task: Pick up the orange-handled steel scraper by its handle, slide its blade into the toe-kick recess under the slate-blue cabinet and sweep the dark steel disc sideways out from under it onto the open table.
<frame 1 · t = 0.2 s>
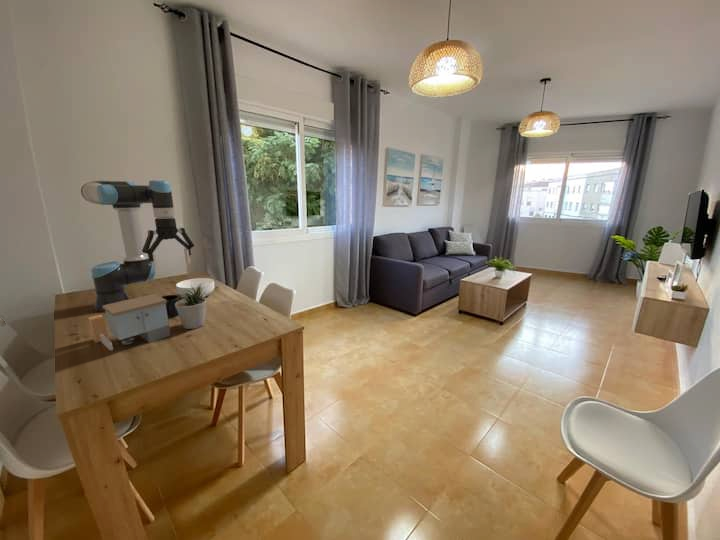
hand: (172, 265, 133), 28 cm above the table, fingers open, 13 cm apart
token: (128, 343, 121), on the table
potted plant: (194, 326, 136), on the table
mug: (170, 316, 147), on the table
cabinet: (142, 339, 124), on the table
bowl: (197, 296, 175), on the table
scraper: (100, 339, 123), on the table
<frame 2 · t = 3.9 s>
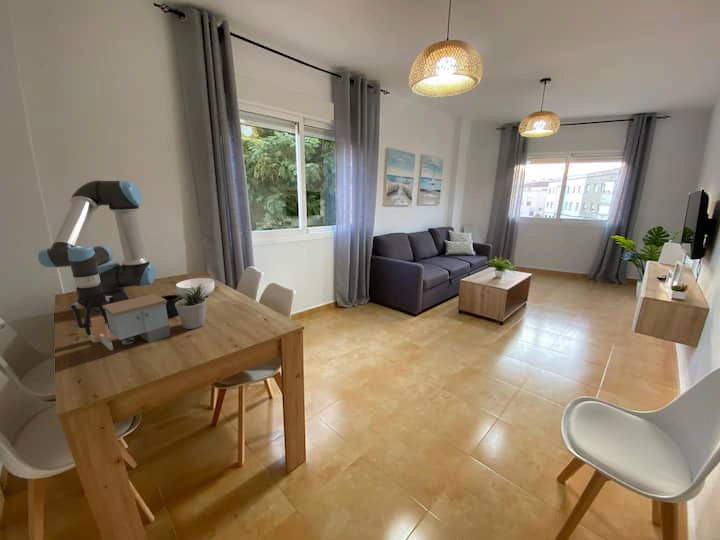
hand: (100, 338, 123), 0 cm above the table, fingers closed on scraper, 4 cm apart
scraper: (101, 339, 123), on the table, touching gripper
everything else where it was.
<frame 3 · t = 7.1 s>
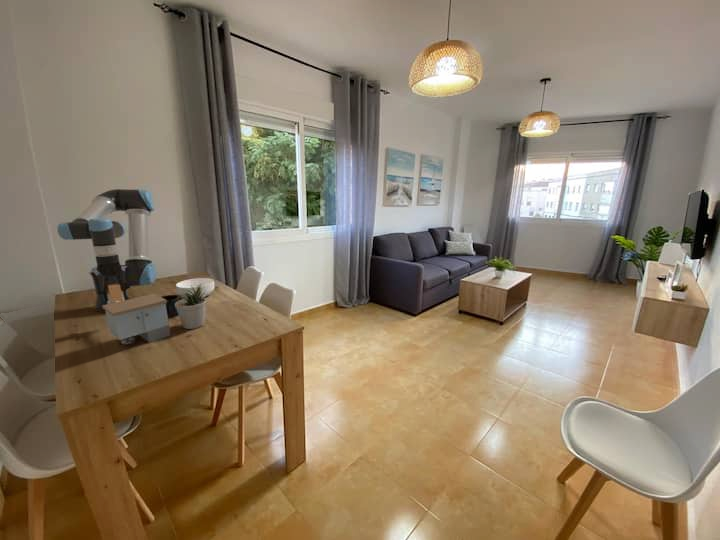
hand: (117, 305, 133), 10 cm above the table, fingers closed on scraper, 4 cm apart
scraper: (117, 306, 133), point 10 cm above the table, touching gripper
everything else where it was.
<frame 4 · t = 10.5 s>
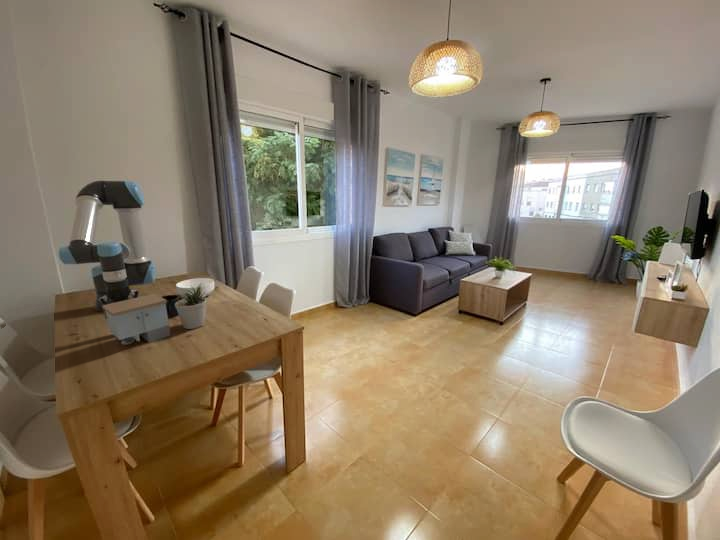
hand: (126, 330, 129), 1 cm above the table, fingers closed on scraper, 4 cm apart
scraper: (126, 331, 129), point 1 cm above the table, touching gripper
everything else where it was.
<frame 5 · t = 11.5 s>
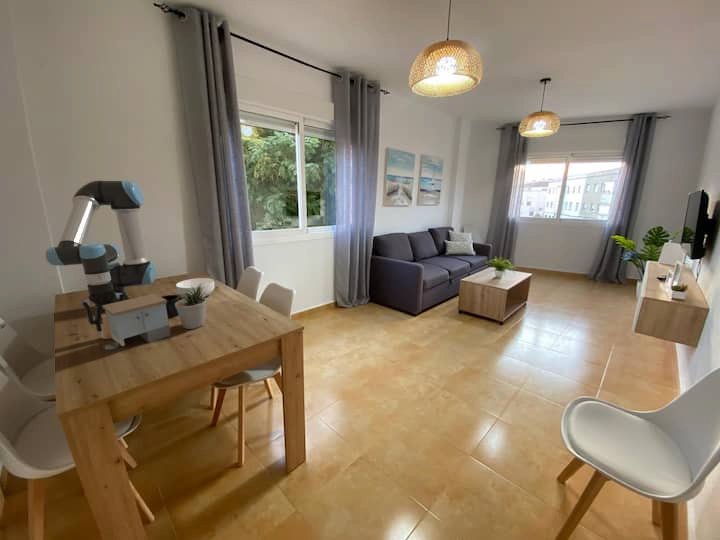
hand: (111, 335, 125), 1 cm above the table, fingers closed on scraper, 4 cm apart
token: (112, 347, 116), on the table, touching scraper
scraper: (111, 336, 125), point 1 cm above the table, touching gripper, token
everything else where it was.
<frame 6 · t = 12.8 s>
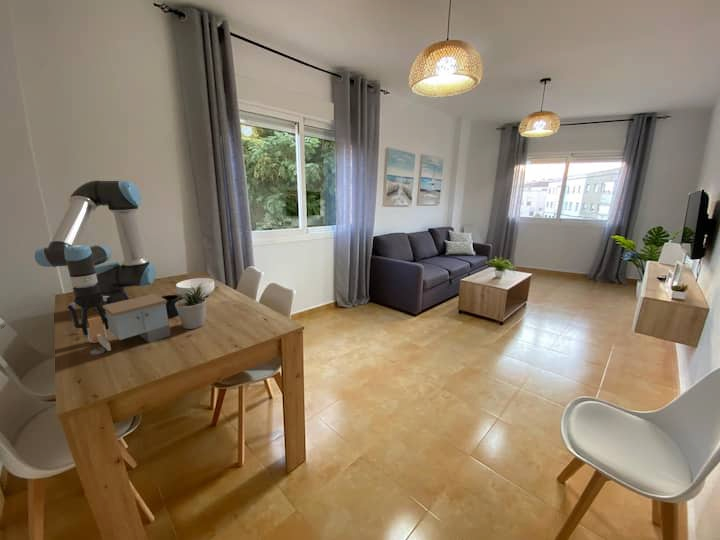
hand: (98, 339, 121), 1 cm above the table, fingers closed on scraper, 4 cm apart
token: (98, 353, 113), on the table
scraper: (98, 339, 121), point 1 cm above the table, touching gripper
everything else where it was.
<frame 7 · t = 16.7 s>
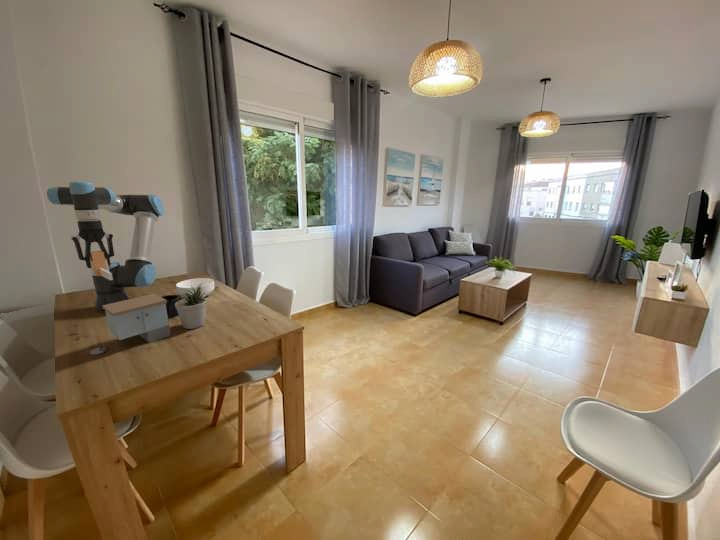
hand: (100, 273, 130), 25 cm above the table, fingers closed on scraper, 4 cm apart
scraper: (101, 274, 130), point 24 cm above the table, touching gripper
everything else where it was.
at the end: token inside the target area (2.2 cm from its centre), on the table; token touching table; the gripper is holding scraper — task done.
